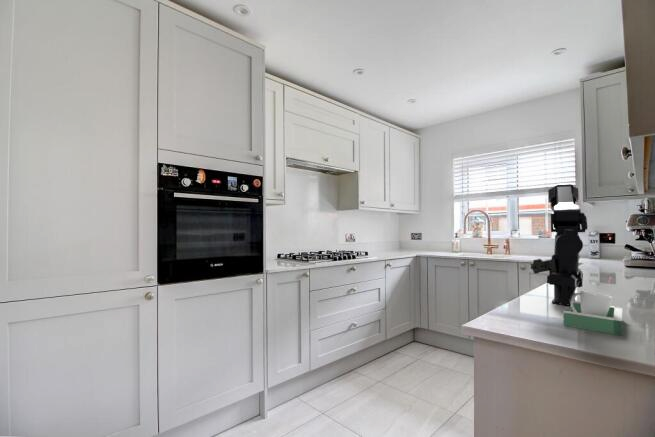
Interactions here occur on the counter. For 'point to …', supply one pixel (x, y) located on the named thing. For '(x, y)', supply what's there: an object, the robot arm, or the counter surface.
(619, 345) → the counter surface
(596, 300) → the cup
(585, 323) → the pocket
